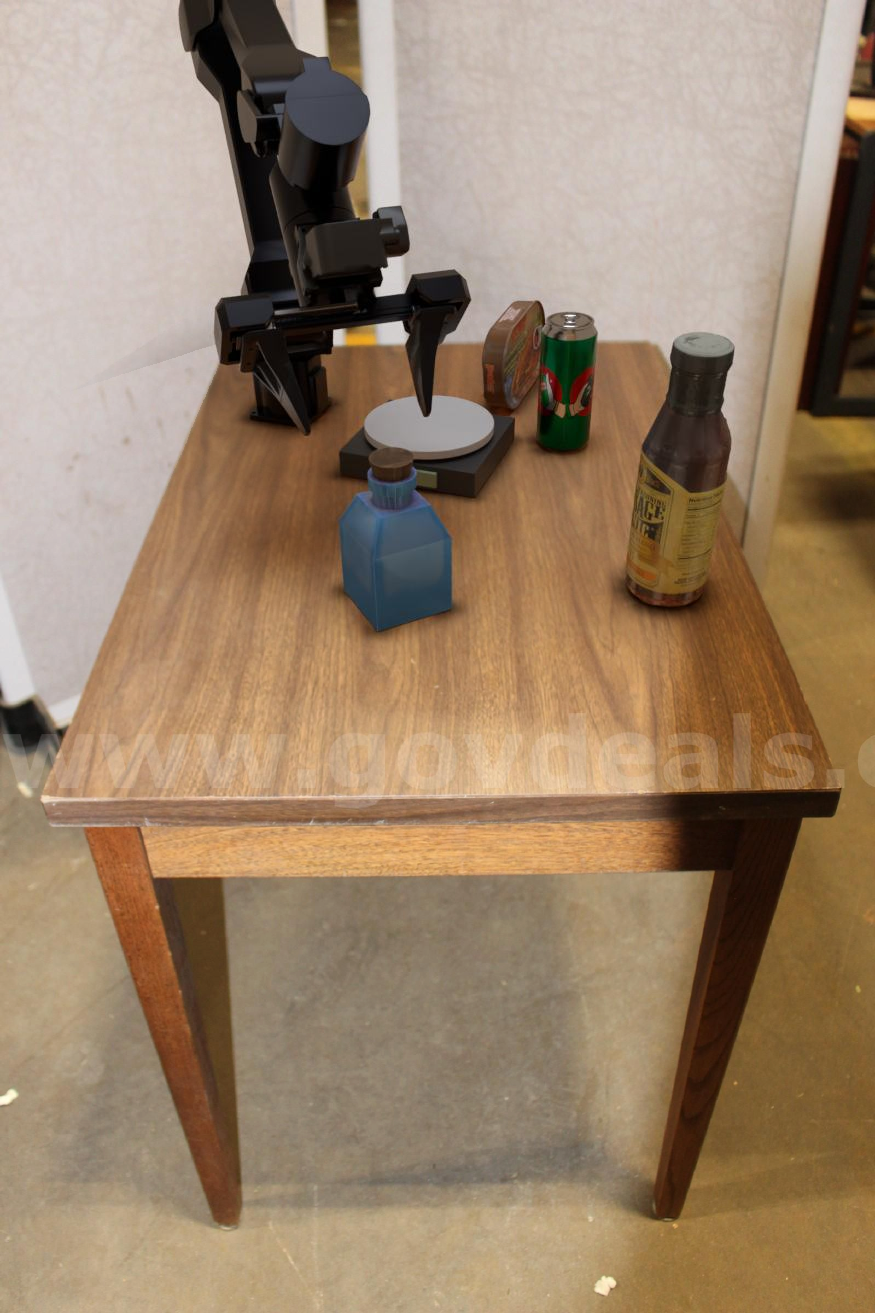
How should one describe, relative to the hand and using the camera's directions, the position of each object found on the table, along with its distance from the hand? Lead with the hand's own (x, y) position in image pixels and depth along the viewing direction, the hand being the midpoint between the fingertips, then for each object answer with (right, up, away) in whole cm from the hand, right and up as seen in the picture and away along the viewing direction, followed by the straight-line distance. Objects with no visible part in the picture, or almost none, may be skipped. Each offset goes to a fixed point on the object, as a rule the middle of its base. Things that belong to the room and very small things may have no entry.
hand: (368, 424), depth 79 cm
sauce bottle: (+23, -12, +4) cm, 26 cm away
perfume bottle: (+2, -13, +3) cm, 13 cm away
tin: (+13, +11, +34) cm, 38 cm away
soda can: (+17, +3, +24) cm, 30 cm away
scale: (+4, +2, +22) cm, 22 cm away
